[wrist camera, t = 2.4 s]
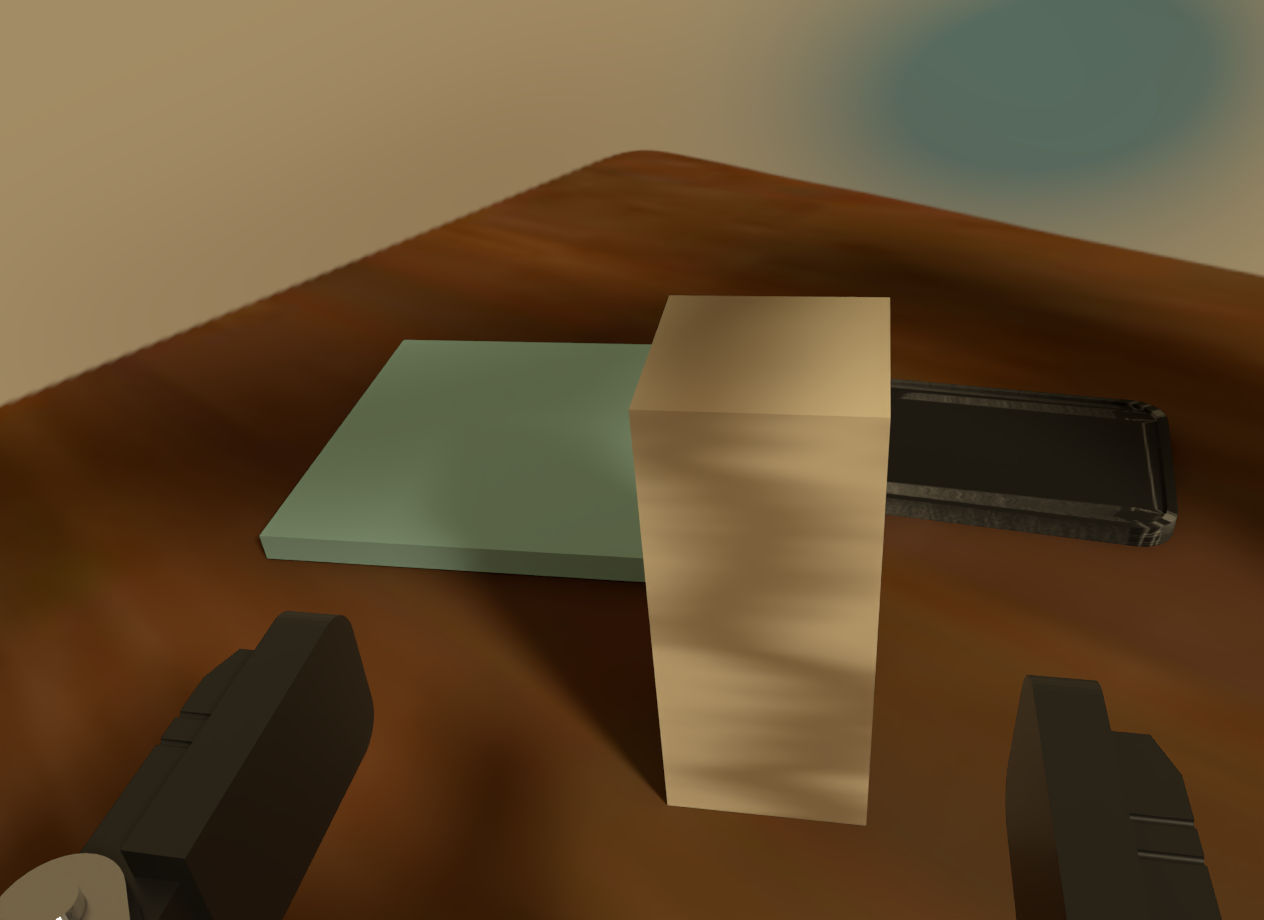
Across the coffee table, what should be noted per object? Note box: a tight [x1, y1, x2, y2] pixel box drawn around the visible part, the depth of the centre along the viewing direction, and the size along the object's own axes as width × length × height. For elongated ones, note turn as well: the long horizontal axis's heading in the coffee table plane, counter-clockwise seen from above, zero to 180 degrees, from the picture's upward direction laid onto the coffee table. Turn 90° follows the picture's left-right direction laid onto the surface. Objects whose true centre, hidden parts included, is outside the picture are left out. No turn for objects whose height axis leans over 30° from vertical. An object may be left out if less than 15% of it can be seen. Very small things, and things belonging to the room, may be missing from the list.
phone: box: [885, 379, 1178, 547], centre depth 40 cm, size 8×1×15 cm
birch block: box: [629, 295, 891, 826], centre depth 26 cm, size 5×5×12 cm
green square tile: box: [260, 340, 651, 582], centre depth 42 cm, size 14×14×1 cm
